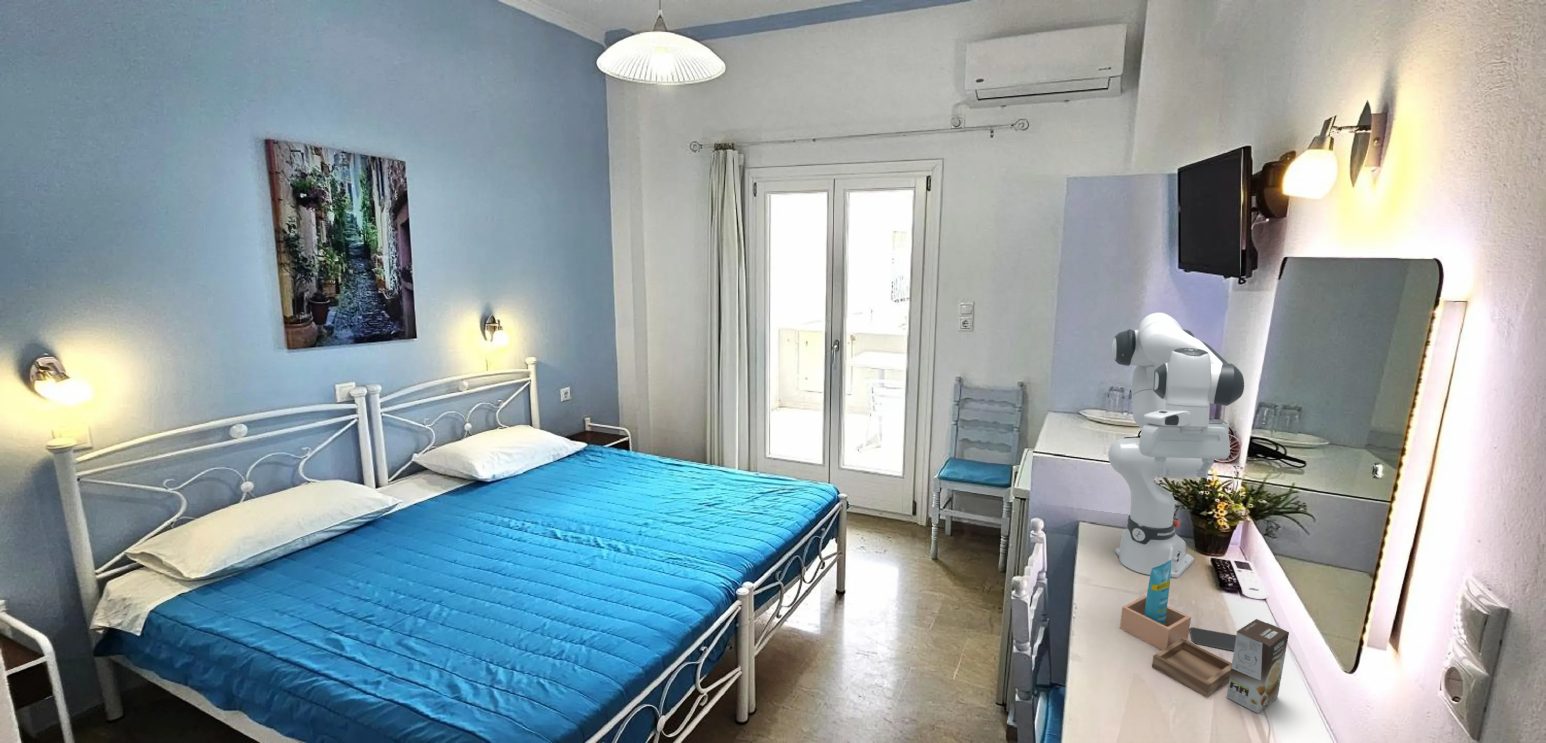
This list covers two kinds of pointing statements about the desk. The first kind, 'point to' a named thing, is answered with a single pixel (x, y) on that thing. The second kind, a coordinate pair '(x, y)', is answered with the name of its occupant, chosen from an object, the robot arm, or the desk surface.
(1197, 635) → the smartphone
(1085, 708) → the desk surface
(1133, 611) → the pink open box
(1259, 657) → the coffee box
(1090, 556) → the desk surface
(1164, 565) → the tube
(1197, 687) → the tray
